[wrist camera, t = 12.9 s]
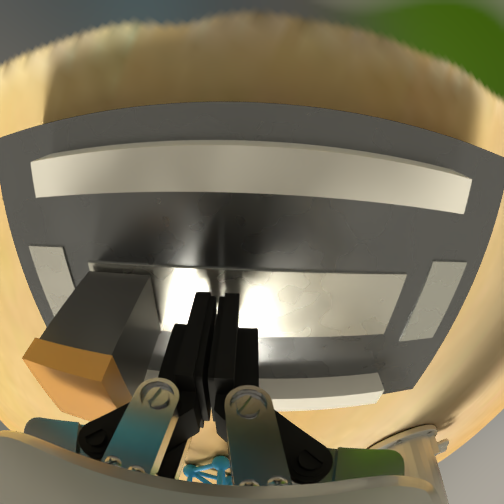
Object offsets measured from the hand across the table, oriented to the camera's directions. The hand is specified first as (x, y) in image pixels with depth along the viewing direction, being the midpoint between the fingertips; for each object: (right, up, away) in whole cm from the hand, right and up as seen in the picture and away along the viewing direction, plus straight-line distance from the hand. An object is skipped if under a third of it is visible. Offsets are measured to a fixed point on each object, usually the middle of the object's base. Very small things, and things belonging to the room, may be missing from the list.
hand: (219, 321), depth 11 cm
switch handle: (-4, +1, +1) cm, 4 cm away
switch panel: (+1, +2, +5) cm, 5 cm away
